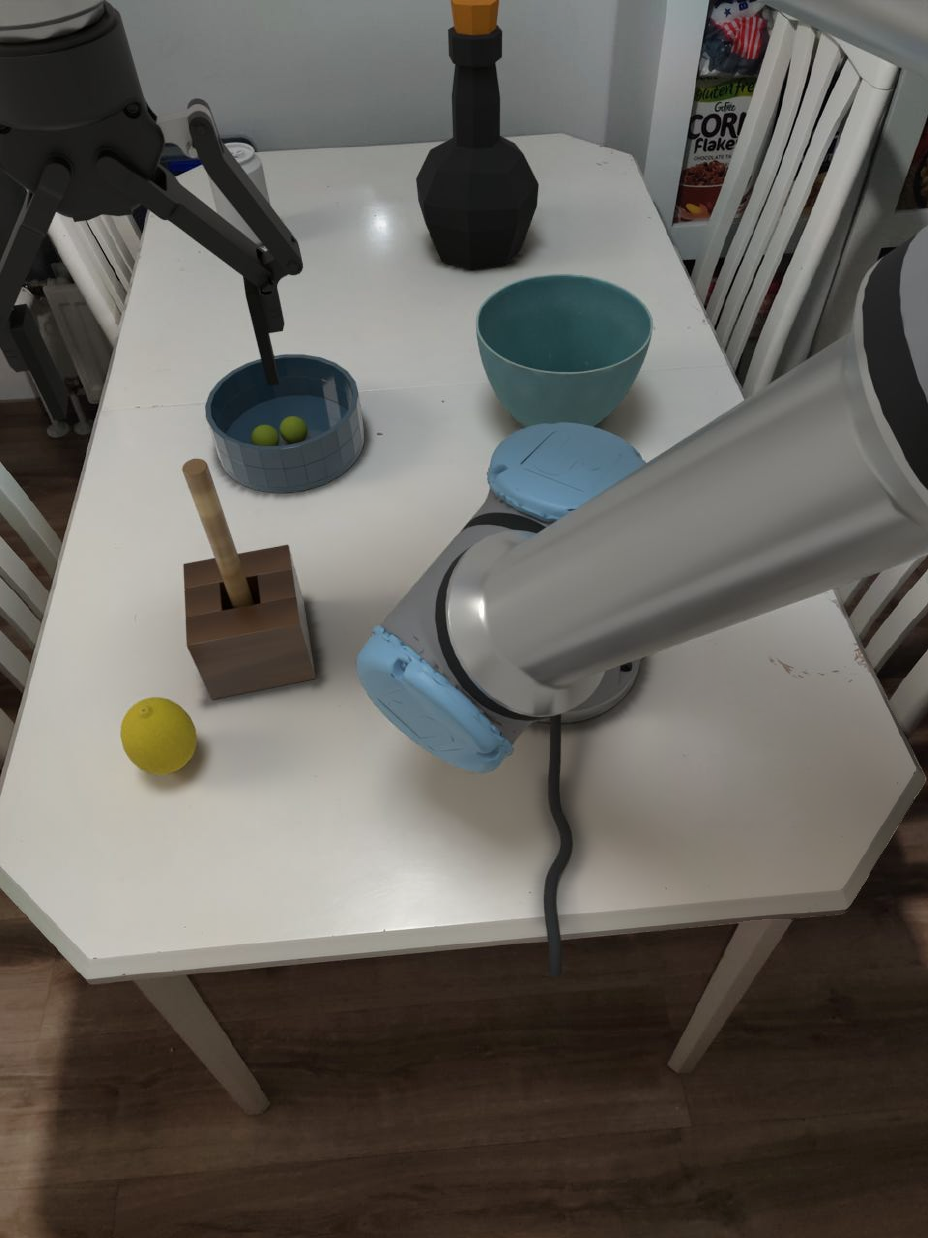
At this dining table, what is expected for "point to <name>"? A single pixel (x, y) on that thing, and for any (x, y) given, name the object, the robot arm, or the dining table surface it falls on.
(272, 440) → the ball
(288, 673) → the stick holder
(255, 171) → the can
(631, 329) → the deep teal bowl
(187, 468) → the stick
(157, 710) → the lemon
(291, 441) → the ball
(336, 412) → the bowl
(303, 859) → the dining table surface
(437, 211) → the bottle
